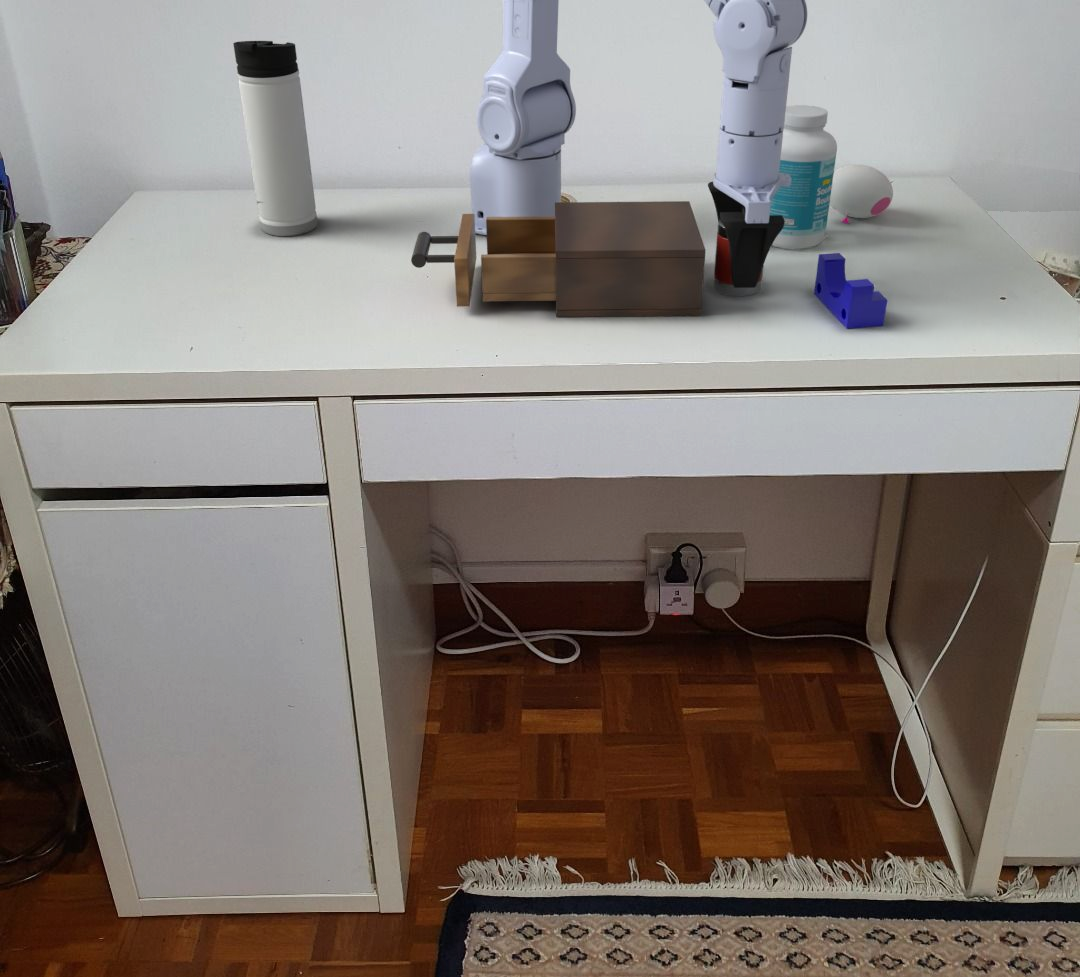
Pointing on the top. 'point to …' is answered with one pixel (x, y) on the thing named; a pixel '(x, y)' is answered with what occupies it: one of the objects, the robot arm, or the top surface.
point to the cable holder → (848, 294)
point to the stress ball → (860, 191)
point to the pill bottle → (805, 177)
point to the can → (728, 268)
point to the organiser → (628, 259)
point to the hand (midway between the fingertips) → (738, 270)
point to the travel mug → (276, 136)
